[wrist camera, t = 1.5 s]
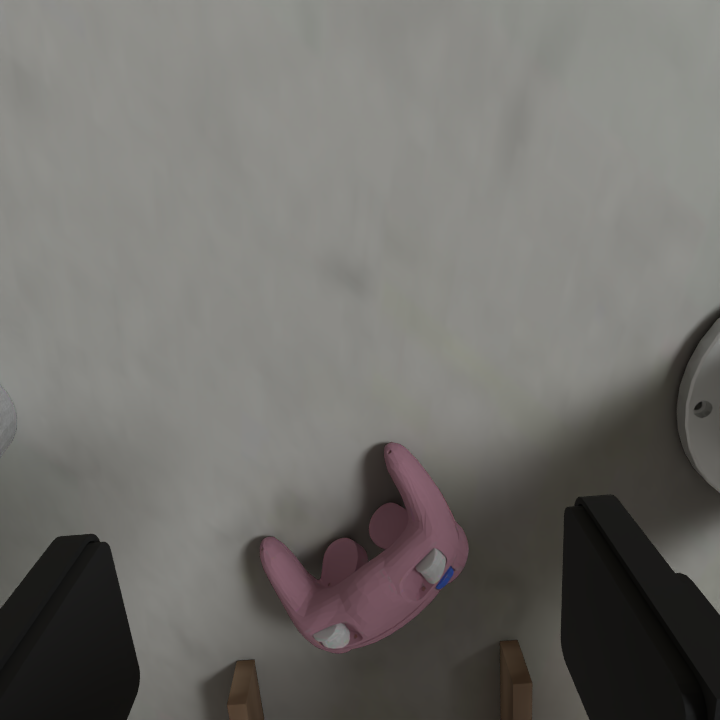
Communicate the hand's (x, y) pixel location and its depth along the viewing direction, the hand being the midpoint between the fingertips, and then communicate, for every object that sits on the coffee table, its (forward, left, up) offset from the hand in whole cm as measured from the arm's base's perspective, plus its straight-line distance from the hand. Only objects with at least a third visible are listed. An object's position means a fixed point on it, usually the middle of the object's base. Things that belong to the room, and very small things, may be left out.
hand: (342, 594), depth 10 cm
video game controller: (0, +12, -20) cm, 23 cm away
